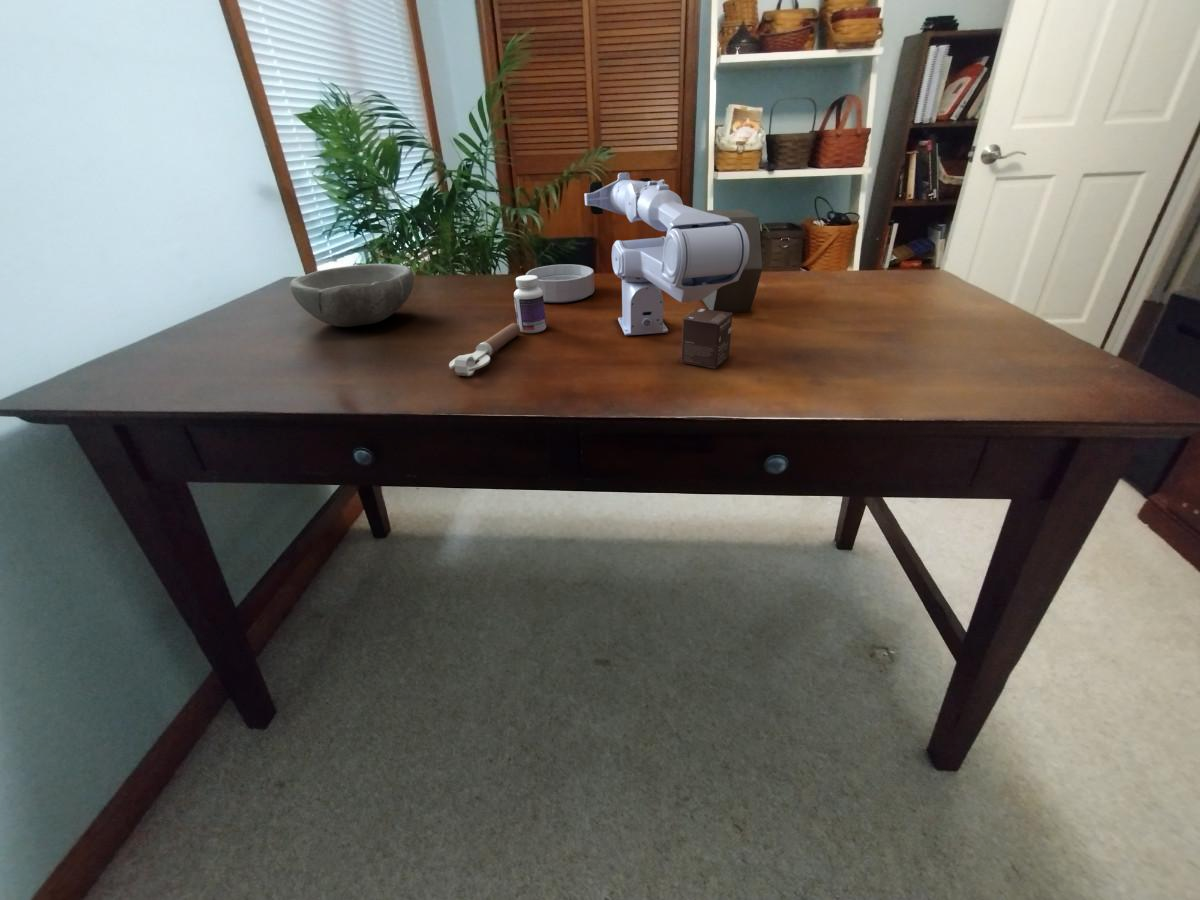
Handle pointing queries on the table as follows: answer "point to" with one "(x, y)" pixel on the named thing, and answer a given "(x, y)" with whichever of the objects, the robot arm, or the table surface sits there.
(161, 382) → the table surface
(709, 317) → the box
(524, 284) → the pill bottle
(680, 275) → the robot arm
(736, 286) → the planter
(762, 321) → the table surface
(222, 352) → the table surface
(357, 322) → the bowl
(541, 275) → the round gray tray
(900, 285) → the table surface
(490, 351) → the manual can opener
